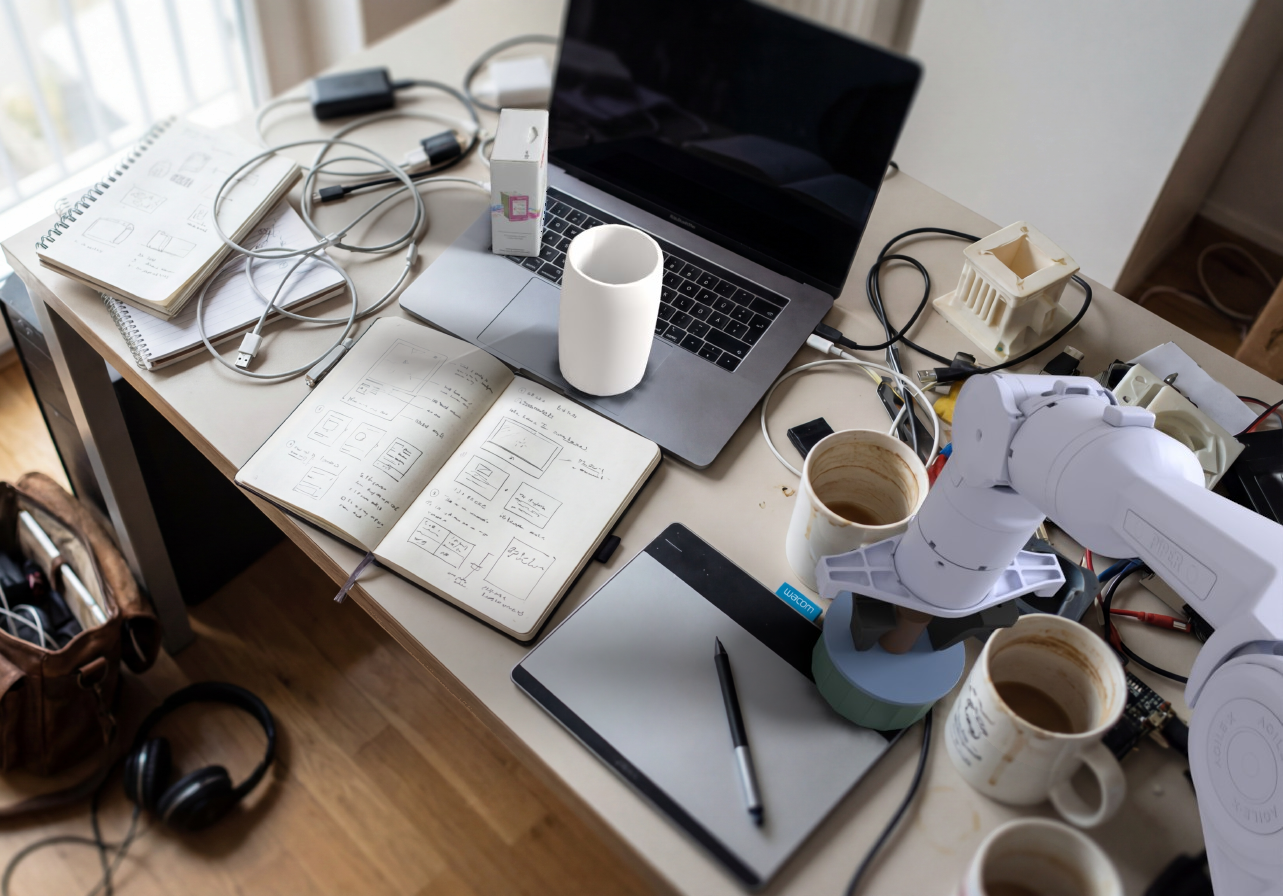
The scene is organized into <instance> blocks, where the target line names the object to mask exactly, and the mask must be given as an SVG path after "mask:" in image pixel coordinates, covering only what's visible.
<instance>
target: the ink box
mask: <svg viewBox="0 0 1283 896" xmlns="http://www.w3.org/2000/svg"><path fill="white" fill-rule="evenodd" d="M549 115H550V114H549V111H548V110H547V109H537V108H501V110H500V114H499V118H498V123H497V127H496V131H495V135H494V139H493V144H492V148H491V153H490V157H489V179H490V211H491V237H492V238H491V239H492V242H491V243H492V244H491V245H492V254H494V255H505V256H518V257H531V258H536V257H539V256H540V250H541V245H542V239H543V231H544V225H545V218H546V211H547V205H546V206H545V203H546V204H547V192H546V191H548V190H547V187H548V186H547V184H548V183H547V181H548V151H549V150H548V145H549V143H548V142H549V138H548V137H549V117H550V116H549ZM544 211H545V214H544ZM543 218H544V220H543ZM542 225H543V226H542ZM541 231H542V232H541ZM540 237H541V238H540Z"/></svg>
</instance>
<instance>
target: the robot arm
mask: <svg viewBox="0 0 1283 896" xmlns="http://www.w3.org/2000/svg"><path fill="white" fill-rule="evenodd" d="M953 407H954V408H953V412H952V417H951V427H950V431H951V432H950V439H951V440H950V441H951V451H952V452H951V453H950V455H949V457H948V459H947V460H946V462H945V464H944V466H943V467H942V469H941V471H940V472H939V474H938V475H937V478H936V479H935V481H934V483H933V484H932V486H931V488H930V490H929V491H928V493H927V495H926V496H925V498H924V499H923V502H922V504H921V505H920V507H919V508H918V510H917V512H916V513H915V514H913V515H911V517H910V518H909V520H908V521H907V529H906V531H905V532H903V533H900V534H897V535H894V536H891V537H887V538H886V539H882V540H879V541H876V542H874V543H871V544H868V545H865V546H862V547H859V548H853V549H851V550H850V551H847V552H843V553H839V554H834V555H833V554H831V555H821V556H820V558H819V560H818V563H817V564H816V567H815V569H814V571H813V574H814V578H815V583H816V588H817V591H818V594H819V598H820V599H834V598H836V596H837V595H838V594H839V593H840V592H842V591H843V590H846V591H851V592H852V617H851V622H850V630H851V634H852V638H853V642H854V646H855V650H856V651H868V650H870V649H871V648H872V647H873V646H874V644H875V643H876V641H877V640H878V639H879V638H880V636H882V635H883V634H884V633H886V632H887V631H889V630H892V629H899V628H900V626H899V622H898V619H897V615H896V612H895V608H894V605H893V604H897V605H900V606H904V607H907V608H911V609H914V610H918V611H921V612H925V613H928V614H932V615H934V616H933V618H932V620H931V621H930V622H929V624H928V625H927V627H926V628H927V631H928V634H929V638H930V641H931V644H932V647H933V651H943V650H946V649H948V648H950V647H952V646H954V645H955V644H957V643H959V642H961V641H963V642H964V641H965V640H967V639H969V638H971V637H973V636H976V635H978V634H982V633H986V632H990V631H994V630H999V629H1008V628H1009V629H1010V628H1011V629H1012V628H1013V627H1014V626H1015V625H1016V623H1017V622H1018V621H1019V619H1020V611H1019V608H1018V605H1017V602H1016V600H1015V599H1016V598H1018V597H1022V596H1024V595H1027V594H1029V593H1034V595H1035V596H1037V597H1041V598H1043V597H1044V598H1045V597H1046V598H1048V597H1049V598H1052V597H1054V596H1055V594H1056V593H1057V592H1058V591H1059V590H1060V589H1061V588H1062V586H1063V585H1064V584H1065V583H1066V582H1067V580H1066V578H1065V575H1064V572H1063V570H1062V567H1061V566H1060V563H1059V560H1058V558H1057V556H1056V554H1055V553H1040V552H1034V551H1029V550H1023V548H1024V547H1025V546H1026V545H1027V543H1028V542H1029V541H1030V539H1031V538H1032V537H1033V535H1034V534H1035V533H1036V532H1037V530H1038V529H1039V527H1040V526H1041V525H1042V524H1043V522H1044V521H1045V520H1046V518H1048V519H1050V520H1051V522H1053V523H1054V524H1055V525H1057V526H1058V527H1059V528H1060V529H1061V530H1063V531H1064V532H1065V533H1066V534H1067V535H1068V536H1070V538H1072V539H1073V540H1075V541H1076V542H1077V543H1078V544H1079V545H1080V546H1082V547H1083V548H1085V549H1087V550H1088V551H1091V552H1092V553H1094V554H1097V555H1099V556H1103V557H1105V558H1107V557H1108V558H1112V559H1134V558H1139V559H1140V560H1142V562H1144V564H1145V565H1146V566H1148V567H1149V569H1151V571H1153V572H1154V573H1155V574H1156V575H1157V576H1158V577H1159V578H1160V579H1161V580H1162V581H1163V582H1165V584H1166V585H1167V586H1169V587H1170V588H1171V589H1172V590H1173V591H1174V592H1175V593H1176V594H1177V595H1178V596H1179V597H1180V598H1181V599H1183V600H1184V602H1186V604H1187V605H1189V606H1190V607H1191V608H1192V609H1193V610H1194V611H1195V612H1196V613H1197V614H1198V615H1199V616H1200V617H1201V618H1202V619H1203V620H1204V621H1205V622H1207V623H1208V624H1209V625H1210V626H1211V627H1212V629H1214V632H1212V634H1211V635H1210V636H1209V637H1208V639H1207V640H1206V641H1205V643H1204V644H1203V646H1202V647H1201V649H1200V651H1199V653H1198V654H1197V657H1196V658H1195V660H1194V663H1193V666H1192V667H1191V670H1190V673H1189V676H1188V678H1187V682H1186V685H1185V688H1184V692H1183V701H1184V704H1185V706H1186V708H1187V709H1188V710H1192V713H1191V717H1190V721H1189V727H1188V736H1187V753H1188V764H1189V771H1190V775H1191V779H1192V782H1193V786H1194V790H1195V795H1196V800H1197V805H1198V806H1197V807H1198V812H1199V818H1200V823H1201V828H1202V834H1203V839H1204V840H1203V841H1204V846H1205V851H1206V857H1207V863H1208V869H1209V874H1210V879H1211V886H1212V890H1213V896H1283V525H1282V524H1280V523H1278V522H1276V521H1273V520H1272V519H1270V518H1268V517H1265V516H1263V515H1261V514H1259V513H1257V512H1255V511H1253V510H1251V509H1249V508H1247V507H1245V506H1243V505H1241V504H1238V503H1237V502H1234V501H1232V500H1230V499H1228V498H1226V497H1224V496H1222V495H1220V494H1218V493H1216V492H1214V491H1211V490H1209V489H1207V488H1206V479H1205V478H1206V477H1205V473H1204V469H1203V467H1202V465H1201V462H1200V460H1199V459H1198V457H1197V456H1196V454H1195V453H1194V452H1193V451H1192V450H1191V449H1190V448H1189V447H1187V445H1186V444H1184V443H1183V442H1180V441H1179V440H1177V439H1175V438H1174V437H1172V436H1170V435H1168V434H1166V433H1164V432H1162V431H1161V430H1159V429H1156V428H1155V427H1154V425H1155V422H1156V419H1157V417H1156V414H1155V413H1154V412H1153V411H1150V410H1148V409H1146V408H1144V407H1142V406H1140V405H1120V404H1119V400H1118V399H1117V396H1115V394H1114V393H1113V392H1112V391H1111V390H1110V389H1109V388H1106V387H1104V386H1102V385H1101V384H1100V383H1099V381H1097V380H1096V379H1095V378H1092V377H1090V376H1079V375H1077V376H1076V375H1054V374H1053V375H1051V374H1026V373H1005V372H1003V373H1002V372H1001V373H1000V372H991V373H990V372H989V373H987V374H985V375H984V374H981V373H976V374H973V375H971V376H970V377H968V378H967V379H966V380H965V382H964V383H963V384H962V385H961V388H960V390H959V392H958V395H957V396H956V400H955V403H954V406H953Z"/></svg>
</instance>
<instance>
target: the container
mask: <svg viewBox="0 0 1283 896" xmlns="http://www.w3.org/2000/svg"><path fill="white" fill-rule="evenodd" d="M811 673H812V676H813V679H814V681H815V684H816V687H817V690H818V692H819V693H820V695H821V696H822V697H823V698H824V700H826V702H827V703H828V704H829V705H830V707H831V708H832V709H833V710H834V711H835V712H836V713H837V714H839V715H840V716H842V717H844V718H845V719H847V720H848V721H851V722H852V723H854V724H855V725H857V726H860V727H864V728H868V729H873V730H877V731H881V732H882V731H883V732H885V731H894V730H900V729H906V728H908V727H910V726H911V725H913V724H915V723H916V722H918V721H919V720H921V719H922V718H924V717H925V716H926V714H927V713H928V712H929V711H930V710H931V708H932V707H933V706H934V704H935V703H936V702H937V701H938V700H936V701H934V702H931V703H928V704H924V705H918V706H900V705H894V704H890V703H886V702H883V701H880V700H877V699H875V698H872V697H871V696H869V695H867V694H865V693H863V692H862V691H860V690H859V689H857V688H856V687H854V686H853V685H852V684H851V683H850V682H848V681H847V680H846V679H845V678H844V677H843V675H842V674H841V673H840V672H839V671H838V669H837V668H836V667H835V665H834V664H833V662H832V660H831V659H830V656H829V654H828V652H827V649H826V646H825V643H824V637H823V631H822V632H821V634H820V636H819V637H818V640H817V641H816V643H815V645H814V647H813V648H812V658H811Z"/></svg>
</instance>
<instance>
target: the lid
mask: <svg viewBox="0 0 1283 896" xmlns="http://www.w3.org/2000/svg"><path fill="white" fill-rule="evenodd" d="M893 605H894V608H895V612H896V615H897V619H898V622H899V626H900V628H899V629H892V630H889V631H887V632H886V633H884V634H883V635H882V636H880V638H879V639H878V640H877V641H876V643H875V644H874V646H873V647H872V648H871V649H870V650H868V651H856V650H855V646H854V642H853V638H852V634H851V630H850V622H851V617H852V592H851V591H846V590H841V591H840V592H839V593H838V595H837V596H836V598H833V600H832V601H831V603H830V604H829V606H828V608H827V610H826V612H825V615H824V619H823V624H822V632H823V637H824V643H825V646H826V649H827V652H828V654H829V656H830V659H831V660H832V662H833V664H834V665H835V667H836V668H837V669H838V671H839V672H840V673H841V674H842V675H843V677H844V678H845V679H846V680H847V681H848V682H850V683H851V684H852V685H853V686H854V687H856V688H857V689H859V690H860V691H862V692H863V693H865V694H867V695H869V696H871V697H872V698H875V699H877V700H880V701H883V702H886V703H890V704H894V705H900V706H918V705H924V704H928V703H931V702H934V701H936V700H937V701H939V700H940V699H942V698H944V697H945V696H946V695H948V694H949V693H950V692H951V691H952V690H953V689H954V687H956V685H957V684H958V682H959V681H960V680H961V677H962V675H963V673H964V669H965V665H966V649H965V644H964V640H963V641H961V642H959V643H957V644H955V645H954V646H952V647H950V648H948V649H946V650H943V651H933V647H932V644H931V641H930V638H929V634H928V631H927V628H926V627H927V625H928V624H929V622H930V621H931V620H932V618H933V616H934V615H932V614H928V613H925V612H921V611H918V610H914V609H911V608H907V607H904V606H900V605H897V604H893ZM937 701H936V702H937Z"/></svg>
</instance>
